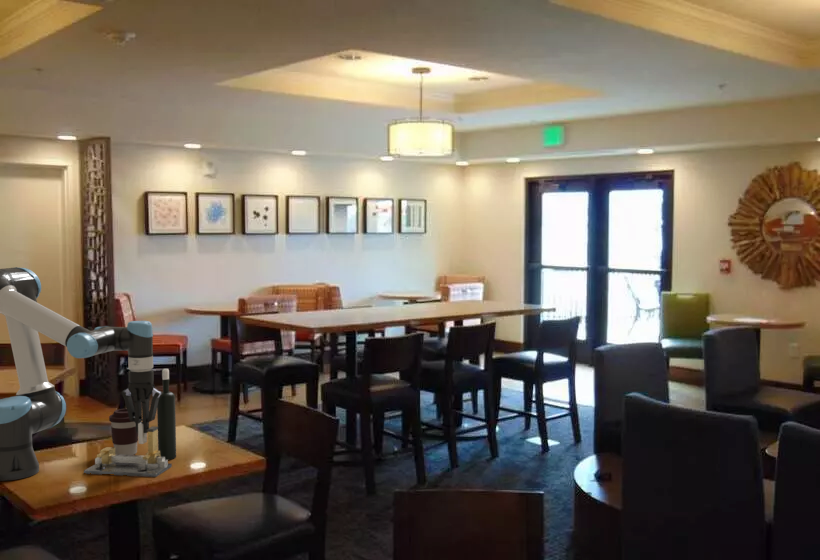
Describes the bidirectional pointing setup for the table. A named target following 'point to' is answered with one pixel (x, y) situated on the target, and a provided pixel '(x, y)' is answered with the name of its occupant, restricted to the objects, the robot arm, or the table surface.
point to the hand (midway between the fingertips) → (142, 442)
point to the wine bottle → (166, 420)
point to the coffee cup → (123, 433)
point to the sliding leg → (151, 447)
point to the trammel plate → (126, 464)
